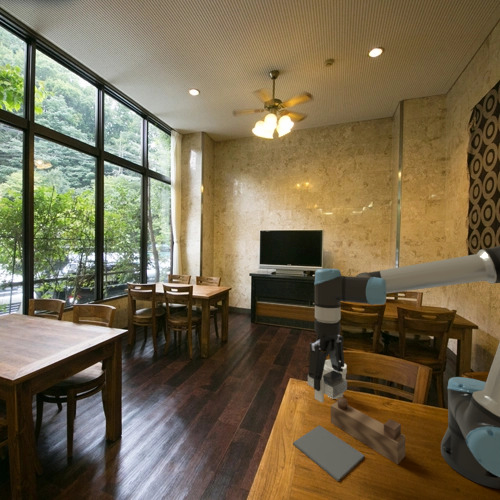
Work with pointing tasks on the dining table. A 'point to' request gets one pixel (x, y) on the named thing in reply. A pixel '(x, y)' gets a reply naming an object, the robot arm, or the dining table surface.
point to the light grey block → (331, 383)
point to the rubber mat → (329, 452)
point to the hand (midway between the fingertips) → (327, 395)
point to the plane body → (370, 430)
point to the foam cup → (329, 366)
